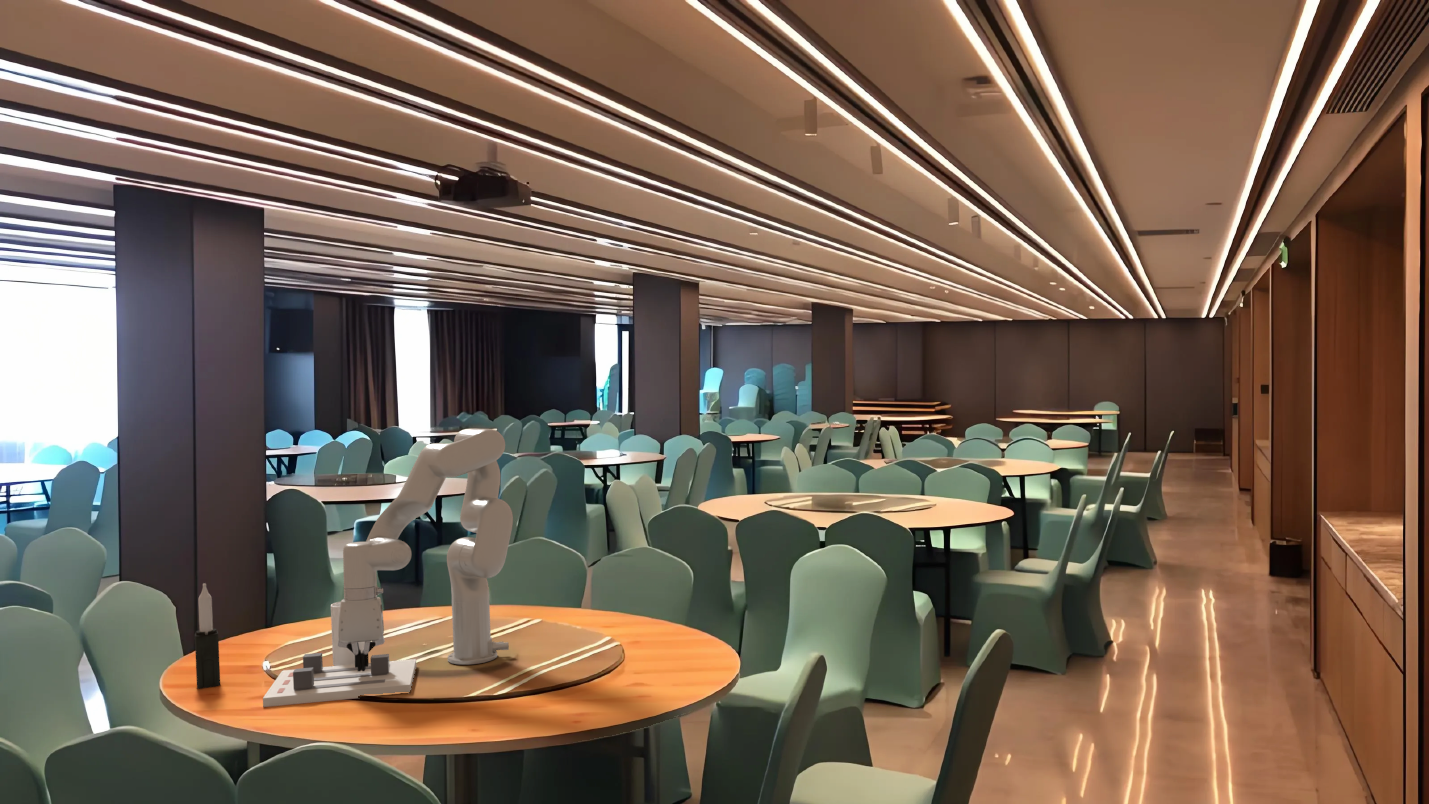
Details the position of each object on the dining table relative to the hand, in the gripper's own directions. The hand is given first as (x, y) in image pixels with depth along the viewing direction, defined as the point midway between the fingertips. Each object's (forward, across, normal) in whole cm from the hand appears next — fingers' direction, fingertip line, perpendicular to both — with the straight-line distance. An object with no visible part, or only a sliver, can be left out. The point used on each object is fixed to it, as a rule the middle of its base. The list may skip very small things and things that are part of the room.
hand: (361, 669), depth 252 cm
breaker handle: (+1, -4, 0) cm, 4 cm away
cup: (+4, +5, -20) cm, 21 cm away
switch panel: (+4, +4, 0) cm, 5 cm away
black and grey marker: (+4, +37, -12) cm, 39 cm away
